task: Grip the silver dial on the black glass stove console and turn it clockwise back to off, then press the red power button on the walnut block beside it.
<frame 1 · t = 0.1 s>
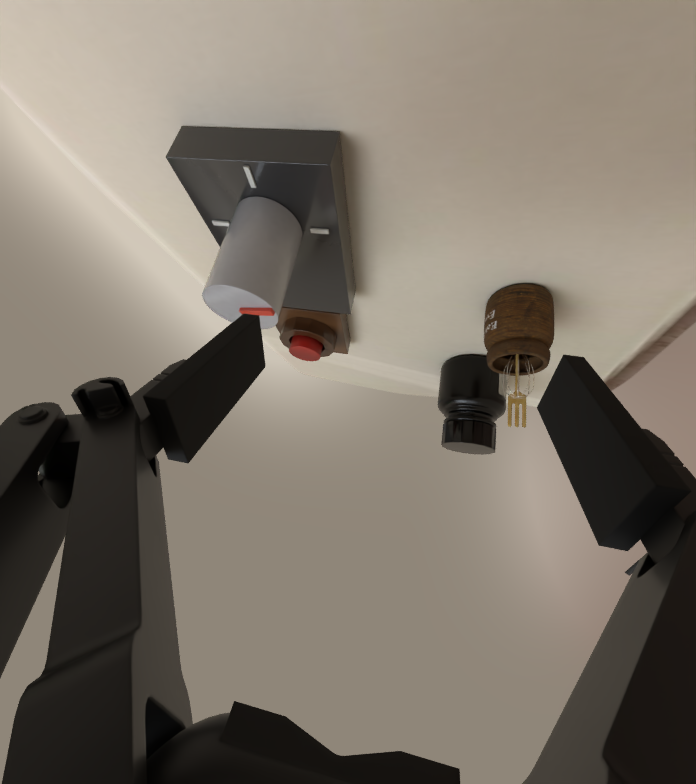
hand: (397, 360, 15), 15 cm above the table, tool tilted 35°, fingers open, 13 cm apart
utensil holder: (518, 300, 32), on the table
power button: (306, 348, 41), point 4 cm above the table, slide at 0.1 cm
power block: (313, 317, 42), on the table
stove console: (289, 228, 29), on the table
stove knob: (255, 267, 24), point 7 cm above the table, hinge at 100.0°
ink bottle: (473, 366, 47), on the table
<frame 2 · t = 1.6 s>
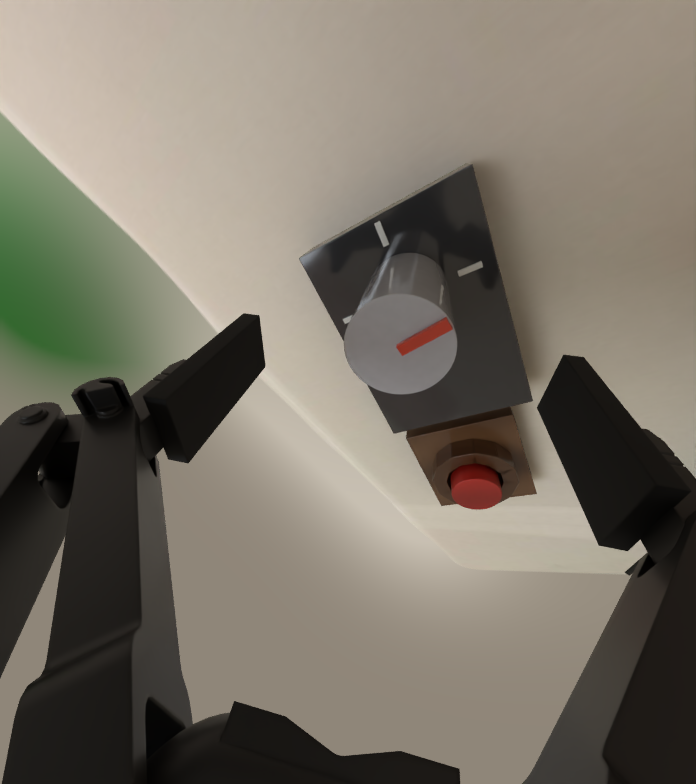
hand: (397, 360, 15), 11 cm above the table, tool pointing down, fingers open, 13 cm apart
power button: (475, 486, 28), point 4 cm above the table, slide at 0.1 cm
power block: (469, 449, 31), on the table
stove console: (423, 317, 25), on the table
stove knob: (403, 318, 18), point 7 cm above the table, hinge at 100.0°
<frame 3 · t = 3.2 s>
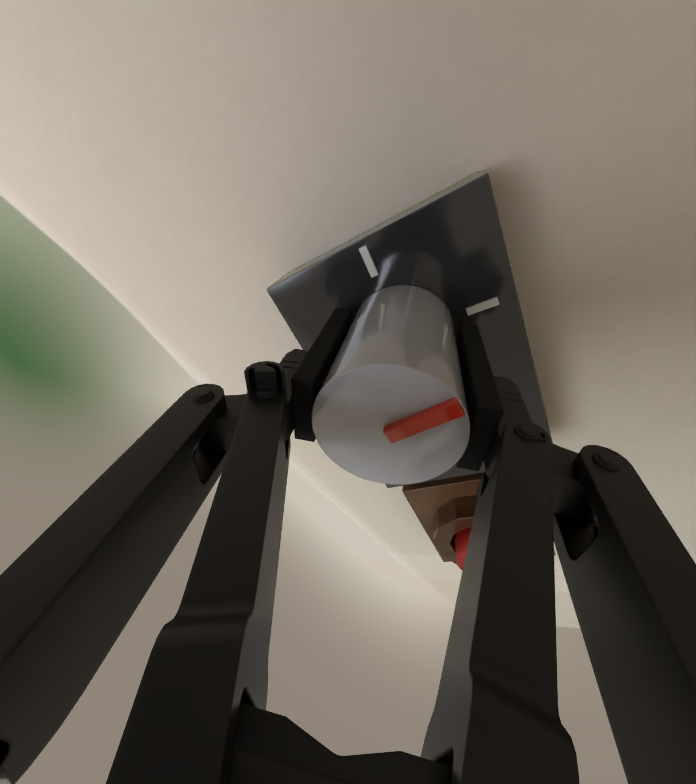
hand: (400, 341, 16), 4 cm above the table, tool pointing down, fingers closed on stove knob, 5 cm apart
power button: (484, 552, 23), point 4 cm above the table, slide at 0.1 cm
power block: (476, 500, 27), on the table
stove console: (422, 355, 20), on the table
stove knob: (395, 375, 14), point 7 cm above the table, hinge at 99.9°, touching gripper
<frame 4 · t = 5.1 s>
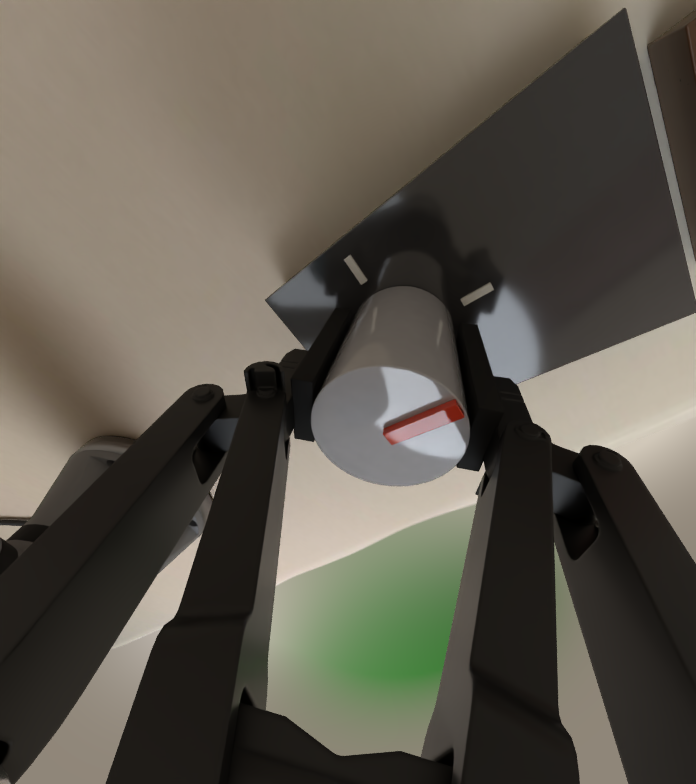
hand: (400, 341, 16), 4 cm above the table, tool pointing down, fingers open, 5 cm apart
stove console: (452, 286, 18), on the table
stove knob: (395, 376, 13), point 7 cm above the table, hinge at 0.1°
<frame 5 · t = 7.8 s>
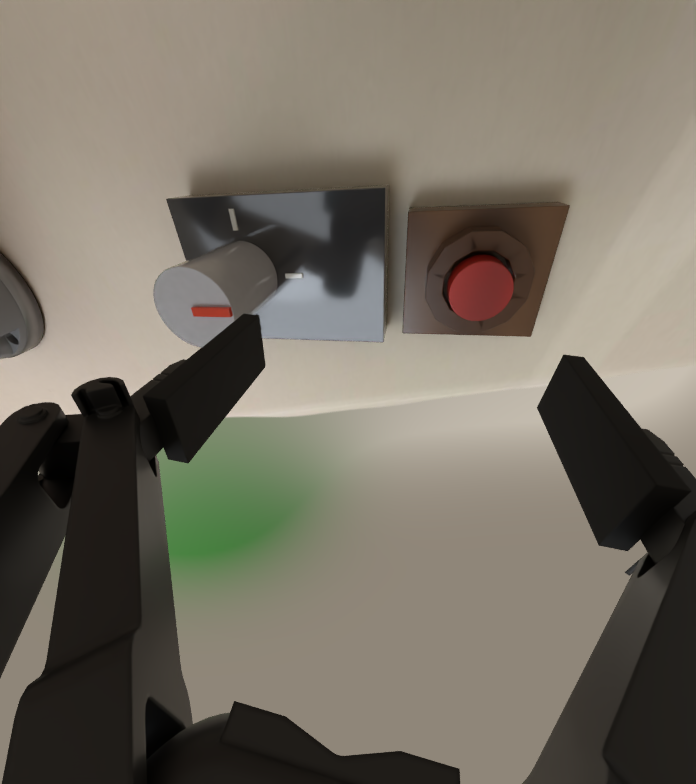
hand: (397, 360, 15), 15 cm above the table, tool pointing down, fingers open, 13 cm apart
power button: (478, 288, 22), point 4 cm above the table, slide at 0.1 cm
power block: (470, 270, 25), on the table
stove console: (294, 265, 28), on the table
stove knob: (222, 291, 23), point 7 cm above the table, hinge at 0.0°
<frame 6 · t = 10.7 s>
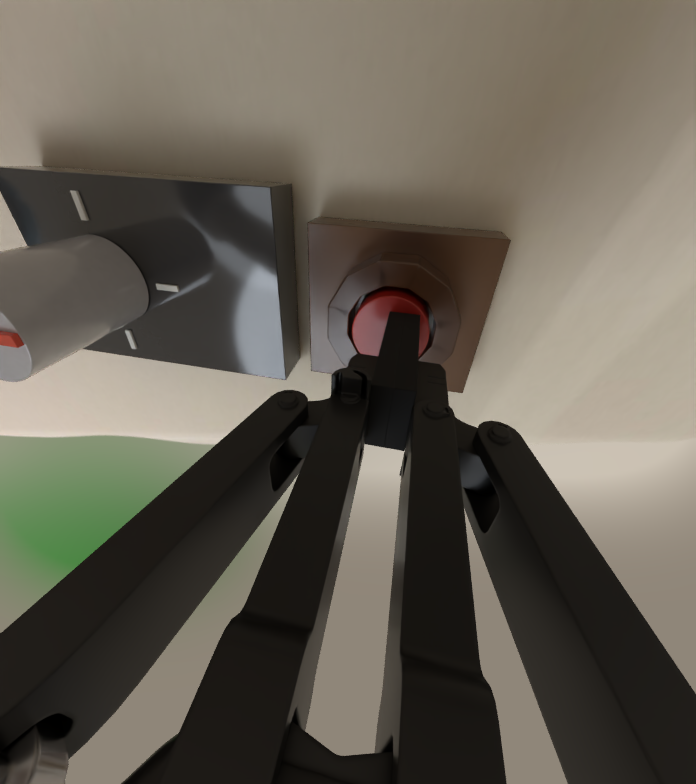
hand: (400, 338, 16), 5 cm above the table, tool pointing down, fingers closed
power button: (391, 327, 17), point 4 cm above the table, slide at -0.7 cm, touching gripper
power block: (396, 303, 20), on the table
stove console: (183, 272, 22), on the table
stove knob: (49, 302, 17), point 7 cm above the table, hinge at 0.0°
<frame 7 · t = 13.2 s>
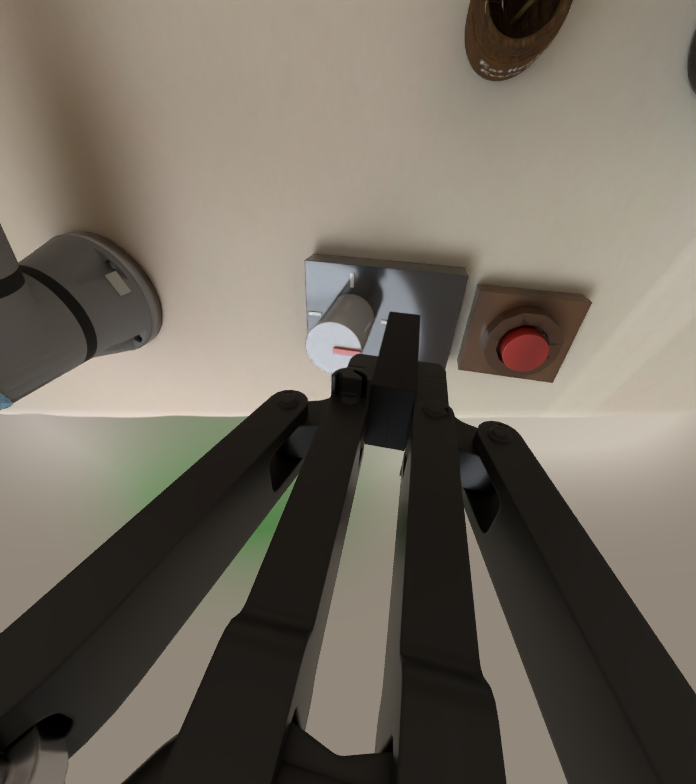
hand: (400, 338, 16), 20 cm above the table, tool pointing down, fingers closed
utensil holder: (508, 26, 23), on the table
power button: (523, 349, 31), point 4 cm above the table, slide at 0.1 cm
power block: (514, 330, 35), on the table
stove console: (381, 310, 37), on the table
stove knob: (342, 332, 32), point 7 cm above the table, hinge at 0.0°
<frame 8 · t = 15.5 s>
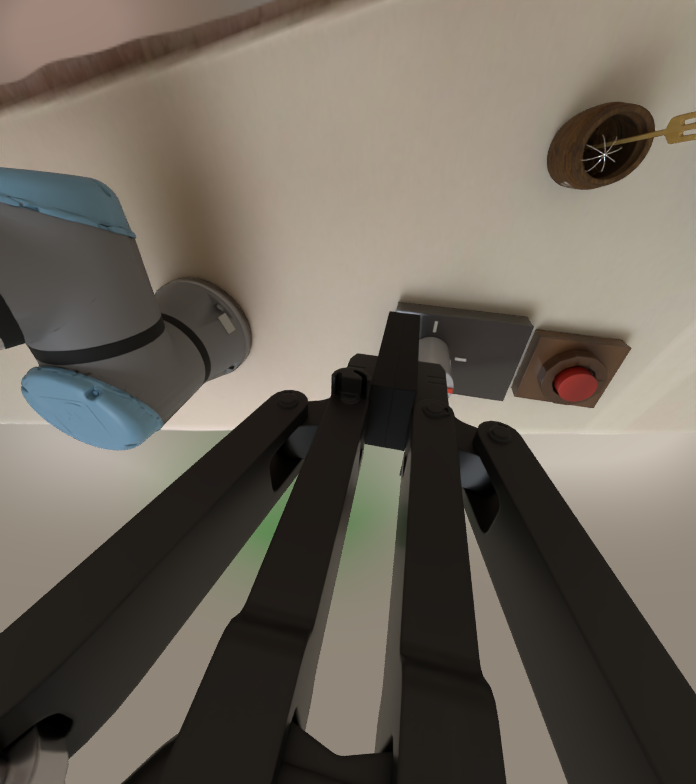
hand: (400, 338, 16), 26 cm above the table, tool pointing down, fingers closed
utensil holder: (581, 149, 30), on the table
power button: (574, 384, 39), point 4 cm above the table, slide at 0.1 cm
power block: (562, 365, 42), on the table
stove console: (451, 347, 44), on the table
stove knob: (429, 370, 39), point 7 cm above the table, hinge at 0.0°
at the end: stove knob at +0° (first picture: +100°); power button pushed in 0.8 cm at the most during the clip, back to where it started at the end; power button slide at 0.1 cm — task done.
